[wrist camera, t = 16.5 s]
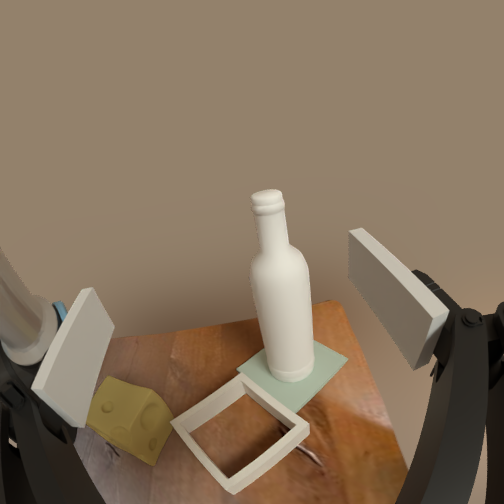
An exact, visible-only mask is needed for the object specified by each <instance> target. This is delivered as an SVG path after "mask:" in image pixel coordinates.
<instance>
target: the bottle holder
mask: <svg viewBox="0 0 504 504" xmlns="http://www.w3.org/2000/svg"><path fill="white" fill-rule="evenodd" d="M245 393H247V394H248V395H249V396H250V397H251V398H252V399H254V400H255V401H256V402H257V403H258V404H260V405H261V406H262V407H263V408H264V409H266V410H267V411H268V412H269V413H270V414H272V415H273V416H274V417H275V418H277V419H278V420H279V421H281V422H282V423H283V424H284V425H286V426H287V427H288V428H290V429H291V430H290V431H289V432H288V433H287V434H286V435H285V436H283V437H282V438H281V439H280V440H279V441H278V442H276V443H275V444H274V445H273V446H272V447H270V448H269V449H268V450H267V451H266V452H264V453H263V454H262V455H260V456H259V457H258V458H257V459H255V460H254V461H253V462H251V463H250V464H249V465H247V466H246V467H245V468H243V469H242V470H241V471H239V472H238V473H236V474H235V475H234V476H232V477H231V478H228V477H227V476H226V475H225V474H224V473H223V472H222V471H221V470H220V469H219V468H218V466H217V465H216V464H215V463H214V462H213V461H212V460H211V459H210V458H209V456H208V455H207V454H206V453H205V452H204V451H203V450H202V448H201V447H200V446H199V445H198V444H197V442H196V441H195V440H194V439H193V437H192V436H191V435H190V434H189V433H190V432H192V431H193V430H195V429H196V428H198V427H199V426H201V425H202V424H204V423H205V422H207V421H208V420H210V419H211V418H213V417H214V416H215V415H217V414H218V413H220V412H221V411H222V410H224V409H225V408H227V407H228V406H229V405H231V404H232V403H233V402H235V401H236V400H237V399H239V398H240V397H241V396H243V395H244V394H245ZM170 423H171V424H172V426H173V427H174V429H175V430H176V431H177V433H178V434H179V435H180V437H181V438H182V439H183V441H184V442H185V443H186V445H187V446H188V447H189V448H190V450H191V451H192V452H193V453H194V455H195V456H196V457H197V458H198V460H199V461H200V462H201V463H202V464H203V465H204V467H205V468H206V469H207V470H208V471H209V472H210V473H211V475H212V476H213V477H214V478H215V479H216V480H217V481H218V482H219V483H220V484H221V486H222V487H223V488H224V489H225V490H226V491H228V492H230V493H231V494H233V495H235V494H236V493H238V492H239V491H241V490H242V489H244V488H245V487H246V486H248V485H249V484H251V483H252V482H253V481H255V480H256V479H257V478H259V477H260V476H261V475H262V474H264V473H265V472H266V471H268V470H269V469H270V468H271V467H273V466H274V465H275V464H276V463H277V462H279V461H280V460H281V459H282V458H283V457H285V456H286V455H287V454H288V453H289V452H290V451H291V450H293V449H294V448H295V447H296V446H297V445H298V444H299V443H300V442H301V441H303V440H304V439H305V438H306V437H307V436H308V435H309V434H310V432H309V423H307V422H306V421H305V420H303V419H302V418H300V417H299V416H298V415H296V414H295V413H293V412H292V411H291V410H289V409H288V408H287V407H285V406H284V405H283V404H281V403H280V402H279V401H277V400H276V399H275V398H274V397H272V396H271V395H270V394H268V393H267V392H266V391H265V390H263V389H262V388H261V387H260V386H258V385H257V384H256V383H255V382H253V381H252V380H251V379H250V378H249V377H247V376H246V375H245V374H244V373H243V372H241V373H240V374H239V375H237V376H236V377H235V378H233V379H232V380H231V381H229V382H228V383H226V384H225V385H224V386H222V387H221V388H219V389H218V390H217V391H215V392H214V393H212V394H211V395H209V396H208V397H207V398H205V399H204V400H202V401H201V402H199V403H198V404H196V405H195V406H193V407H192V408H190V409H189V410H187V411H186V412H184V413H183V414H181V415H179V416H178V417H176V418H175V419H173V420H172V421H170Z"/></svg>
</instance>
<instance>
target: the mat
mask: <svg viewBox="0 0 504 504" xmlns="http://www.w3.org/2000/svg"><path fill="white" fill-rule="evenodd" d="M313 346H314V356H315V361H314V367H313V370H312V372H311V373H310V374H309V376H308V377H306V378H305V379H303V380H301V381H298V382H294V383H287V382H282V381H279V380H277V379H276V378H275V377H274V376H272V374H271V372H270V369H269V366H268V363H267V356H266V352H265V348H263V349H262V350H261V351H259V352H258V353H257V354H256V355H254V356H253V357H252V358H250V359H249V360H248V361H246V362H245V363H244V364H242V365H241V366H240V367H238V368H237V369H236V370H237V371H238V372H239V373H241V372H243V373H244V374H245V375H246V376H247V377H249V378H250V379H251V380H252V381H253V382H255V383H256V384H257V385H258V386H260V387H261V388H262V389H263V390H265V391H266V392H267V393H268V394H270V395H271V396H272V397H274V398H275V399H276V400H277V401H279V402H280V403H281V404H283V405H284V406H285V407H287V408H288V409H289V410H291V411H292V412H293V413H295V414H296V413H297V412H298V411H299V410H300V409H301V408H302V407H303V406H304V405H305V404H306V403H307V402H308V401H309V400H310V399H311V398H312V397H313V396H314V395H315V394H316V393H317V392H318V391H319V390H320V389H321V388H322V387H323V386H324V385H325V384H326V383H327V382H328V381H329V380H330V379H331V378H332V377H333V376H334V375H335V374H336V373H337V372H338V371H339V370H340V368H341V367H342V366H343V365H344V364H345V363H346V362H347V361H348V358H346V357H344V356H343V355H341V354H339V353H337V352H335V351H333V350H331V349H329V348H328V347H326V346H324V345H322V344H320V343H318V342H317V341H315V340H313Z"/></svg>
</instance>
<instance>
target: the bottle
mask: <svg viewBox="0 0 504 504" xmlns="http://www.w3.org/2000/svg"><path fill="white" fill-rule="evenodd" d="M251 203H252V205H251V210H252V212H253V214H254V219H255V224H256V230H257V235H258V240H259V246H260V250H259V251H258V252H257V253H256V254H255V256H254V257H253V258H252V261H251V266H250V274H249V280H250V285H251V289H252V294H253V299H254V303H255V308H256V312H257V316H258V321H259V325H260V330H261V334H262V338H263V343H264V347H265V352H266V356H267V363H268V366H269V369H270V372H271V374H272V376H274V377H275V378H276V379H277V380H279V381H282V382H287V383H294V382H298V381H301V380H303V379H305V378H306V377H308V376H309V374H310V373H311V372H312V370H313V367H314V361H315V356H314V346H313V325H312V308H311V293H310V280H309V270H308V265H307V263H306V261H305V259H304V257H303V255H302V253H301V252H300V251H299V250H298V249H296V248H295V247H293V246H291V245H290V244H289V240H288V233H287V225H286V218H285V212H284V207H285V202H284V200H283V198H282V193H281V192H280V191H279V190H275V189H268V190H262V191H259V192H256V193H254V194H253V195H252V196H251Z"/></svg>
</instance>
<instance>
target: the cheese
mask: <svg viewBox="0 0 504 504" xmlns="http://www.w3.org/2000/svg"><path fill="white" fill-rule="evenodd" d="M173 419H174V417H173V415H172V413H171V411H170V409H169V408H168V406H167V405H166V403H165V402H164V401H163V399H162V398H161V397H160V396H159V395H158V394H157V393H156V392H155V391H153V390H152V389H149V388H145V387H140V386H135V385H132V384H130V383H127V382H124V381H121V380H119V379H116V378H114V377H112V376H109V375H108V376H107V377H106V379H105V380H104V381H103V383H102V384H101V386H100V387H99V389H98V390H97V392H96V393H95V395H94V396H93V398H92V400H91V404H90V407H89V411H88V415H87V419H86V424H87V425H88V426H89V427H90V428H92V429H93V430H94V431H95V432H96V433H98V434H99V435H100V436H101V437H103V438H104V439H105V440H107V441H108V442H110V443H111V444H113V445H114V446H116V447H118V448H120V449H122V450H124V451H126V452H129V453H131V454H132V455H134V456H135V457H137V458H139V459H140V460H142V461H144V462H145V463H147V464H148V465H150V466H154V465H155V464H156V462H157V459H158V457H159V454H160V452H161V450H162V448H163V446H164V444H165V442H166V440H167V438H168V437H169V435H170V433H171V431H172V429H173V428H174V427H173V426H172V424H171V423H170V421H172V420H173Z"/></svg>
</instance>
